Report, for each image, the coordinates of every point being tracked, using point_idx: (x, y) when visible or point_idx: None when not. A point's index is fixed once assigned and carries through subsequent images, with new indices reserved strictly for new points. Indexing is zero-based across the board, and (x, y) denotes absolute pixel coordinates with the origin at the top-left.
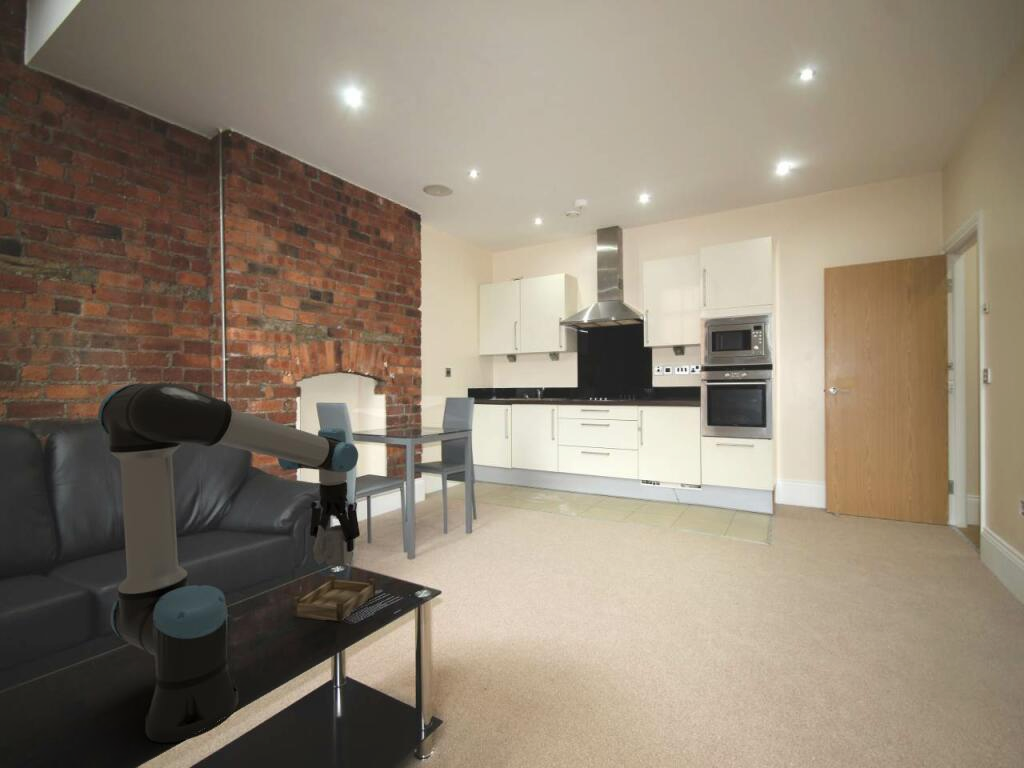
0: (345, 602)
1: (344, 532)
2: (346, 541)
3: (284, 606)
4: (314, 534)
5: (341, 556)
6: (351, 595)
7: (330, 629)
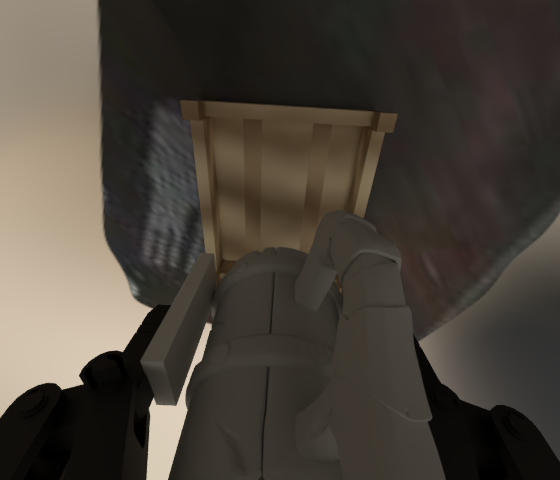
0: (253, 202)
1: (104, 460)
2: (111, 355)
3: (434, 167)
4: (482, 424)
5: (232, 287)
6: (263, 241)
7: (202, 44)
